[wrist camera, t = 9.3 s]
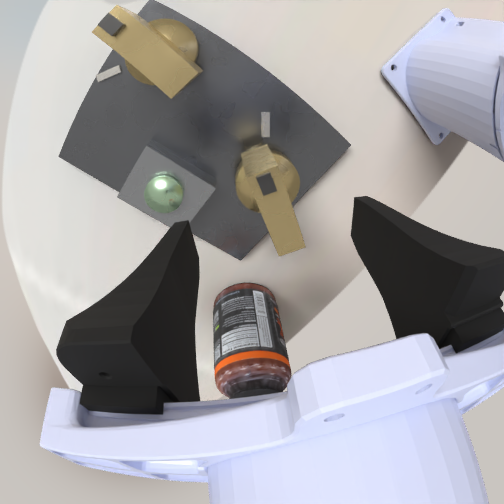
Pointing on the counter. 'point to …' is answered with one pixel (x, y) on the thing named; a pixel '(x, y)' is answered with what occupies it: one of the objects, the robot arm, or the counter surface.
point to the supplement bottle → (249, 343)
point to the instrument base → (196, 138)
